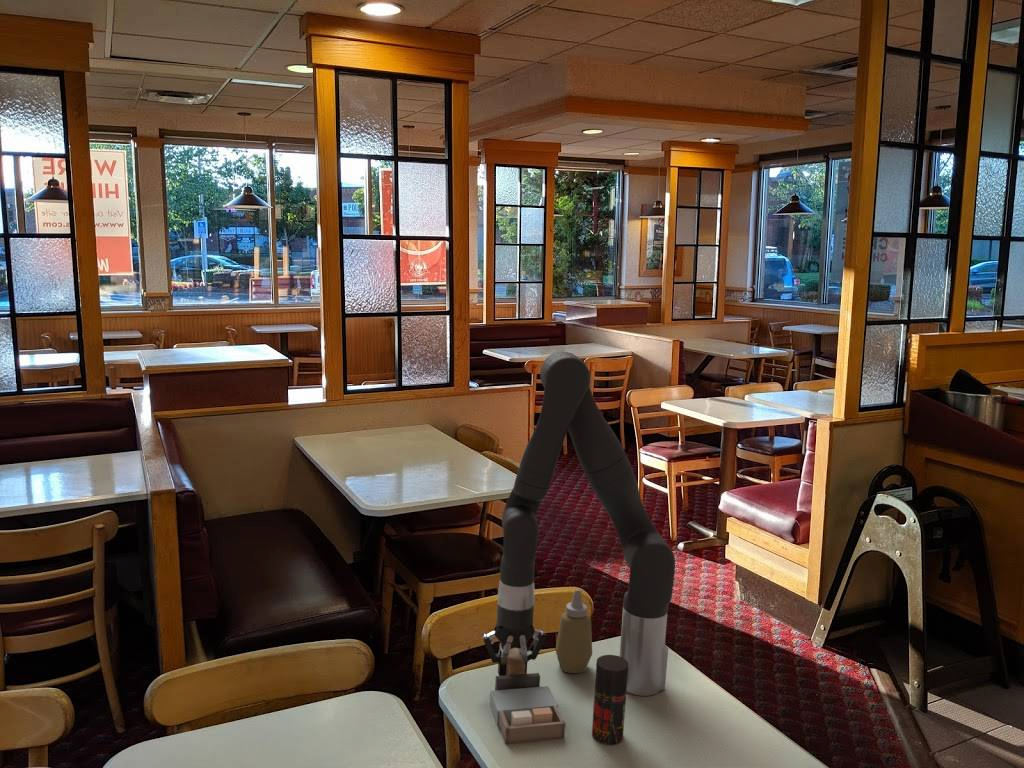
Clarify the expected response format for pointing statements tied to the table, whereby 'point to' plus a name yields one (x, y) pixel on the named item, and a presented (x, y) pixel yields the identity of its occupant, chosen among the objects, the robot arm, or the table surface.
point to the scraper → (516, 674)
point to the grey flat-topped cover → (520, 700)
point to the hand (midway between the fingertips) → (511, 677)
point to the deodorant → (609, 699)
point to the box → (532, 729)
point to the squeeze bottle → (574, 637)
